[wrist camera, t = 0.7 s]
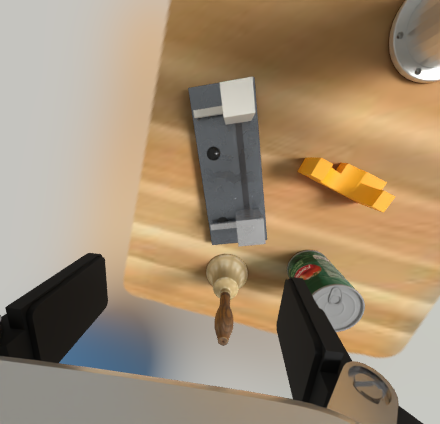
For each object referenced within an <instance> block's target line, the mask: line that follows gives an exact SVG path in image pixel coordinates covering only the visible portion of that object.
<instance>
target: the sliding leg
mask: <svg viewBox="0 0 440 424" xmlns="http://www.w3.org/2000/svg"><path fill="white" fill-rule="evenodd" d="M220 90H221V99H222V106H217V107H211V108H205V109H198V110H193V111H194V118H202V117H208V116H215V115H221V114H223V116H224V121H225V124H226V125H227V124H234V123H241V122H247V121H252V119H253V117H254V115H255V101H254V89H253V77H247V78H242V79H236V80H230V81H224V82H220Z"/></svg>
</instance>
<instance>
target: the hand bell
mask: <svg viewBox="0 0 440 424" xmlns="http://www.w3.org/2000/svg"><path fill="white" fill-rule="evenodd" d="M206 275H207V279H208V281H209V283H210V284H211V285H212V286H213V290H214V293H215V294H216V296H217V297H219V298H220V307H219V309H218V310H217V313H216V316H215V331H216V335H217V338H218V343H219V344H220V345H223V346H224V345H226V344H227V343H228V340H229V337H230V335H231V333H232V329H233V315H232V311H231V309H230V299H232V298H234V297H235V296H236V295H237V293H238V289H240V288H241V287H242V286H243V285H244V284H245V282H246V280H247V278H248V270H247V267H246V265H245V263H244V262H243V261H242V260H241V259H240V258H238V257H237V256H234V255H230V254H222V255H219V256H216V257H215V258H213V259H212V260H211V261H210V262H209V264H208V266H207V269H206Z"/></svg>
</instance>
